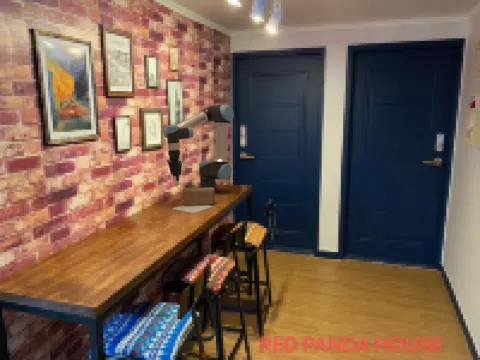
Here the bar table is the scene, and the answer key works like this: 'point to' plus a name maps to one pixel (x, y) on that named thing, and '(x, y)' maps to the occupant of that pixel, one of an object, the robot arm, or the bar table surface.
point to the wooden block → (199, 196)
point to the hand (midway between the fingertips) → (176, 185)
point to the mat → (192, 208)
